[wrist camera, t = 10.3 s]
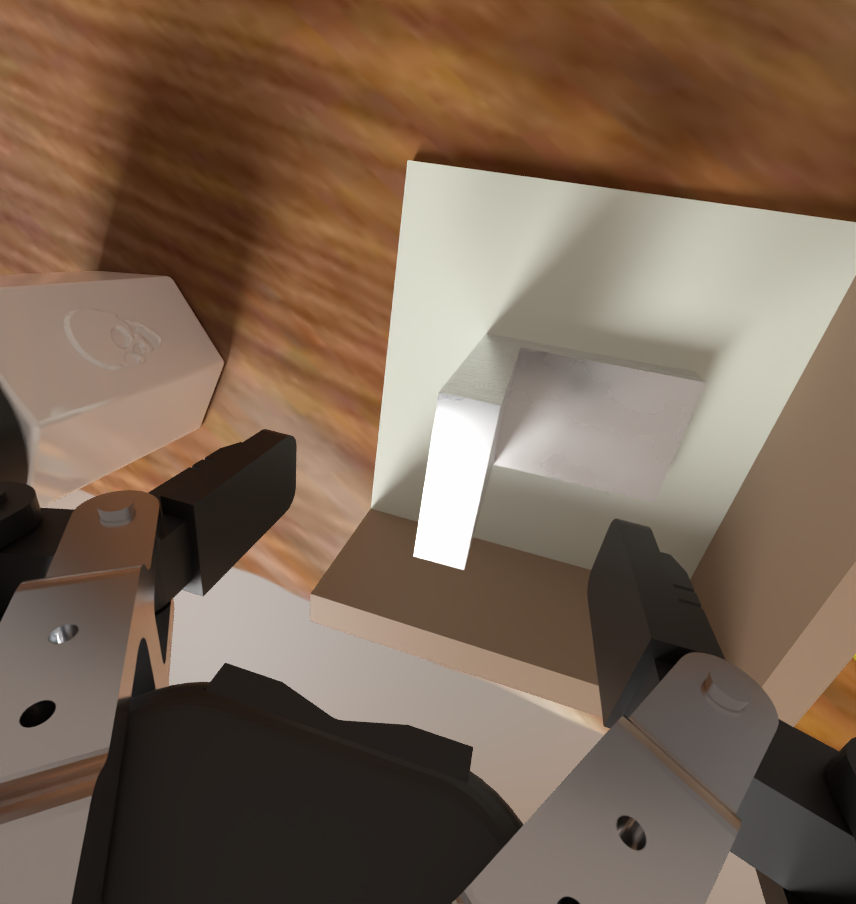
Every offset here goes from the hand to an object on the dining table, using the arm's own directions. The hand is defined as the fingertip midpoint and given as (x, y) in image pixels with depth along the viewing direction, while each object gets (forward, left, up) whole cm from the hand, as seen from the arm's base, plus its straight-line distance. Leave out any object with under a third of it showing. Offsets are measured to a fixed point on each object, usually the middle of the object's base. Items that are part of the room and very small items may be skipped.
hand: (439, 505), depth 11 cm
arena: (+4, 0, -10) cm, 10 cm away
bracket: (+3, 0, -9) cm, 10 cm away
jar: (-18, -2, -10) cm, 20 cm away
